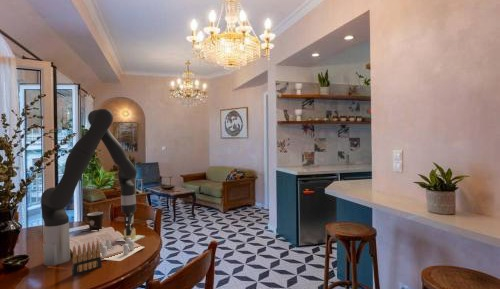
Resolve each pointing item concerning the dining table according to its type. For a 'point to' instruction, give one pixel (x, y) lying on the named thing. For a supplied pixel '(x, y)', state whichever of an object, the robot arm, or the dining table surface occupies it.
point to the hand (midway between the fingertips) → (129, 233)
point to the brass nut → (133, 234)
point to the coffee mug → (94, 220)
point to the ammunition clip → (86, 259)
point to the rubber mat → (136, 237)
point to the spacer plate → (123, 255)
